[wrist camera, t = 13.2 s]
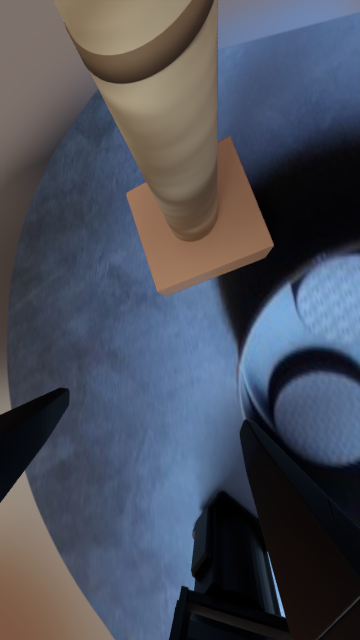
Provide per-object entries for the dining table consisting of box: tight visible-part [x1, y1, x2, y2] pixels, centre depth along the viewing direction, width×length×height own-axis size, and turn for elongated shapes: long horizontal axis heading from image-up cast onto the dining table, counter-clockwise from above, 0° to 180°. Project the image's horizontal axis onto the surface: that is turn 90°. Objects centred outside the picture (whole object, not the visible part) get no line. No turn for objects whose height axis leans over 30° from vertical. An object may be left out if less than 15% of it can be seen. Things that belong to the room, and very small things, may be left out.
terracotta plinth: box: [126, 136, 274, 296], centre depth 19 cm, size 12×12×3 cm
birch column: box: [53, 0, 218, 242], centre depth 11 cm, size 5×5×13 cm
